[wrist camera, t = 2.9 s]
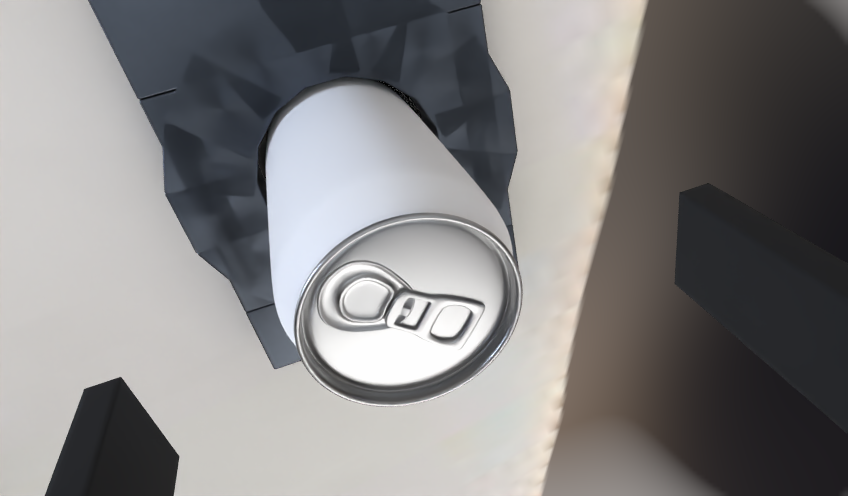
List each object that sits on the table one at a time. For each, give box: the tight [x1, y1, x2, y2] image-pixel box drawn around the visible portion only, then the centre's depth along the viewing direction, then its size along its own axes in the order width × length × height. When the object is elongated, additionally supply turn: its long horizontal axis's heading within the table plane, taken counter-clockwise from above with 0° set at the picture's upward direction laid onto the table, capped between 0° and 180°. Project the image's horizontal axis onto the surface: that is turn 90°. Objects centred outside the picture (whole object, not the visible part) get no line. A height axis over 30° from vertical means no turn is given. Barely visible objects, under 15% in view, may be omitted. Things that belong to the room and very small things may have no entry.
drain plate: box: [88, 0, 519, 369], centre depth 22 cm, size 16×13×2 cm
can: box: [266, 77, 522, 407], centre depth 18 cm, size 6×6×12 cm
